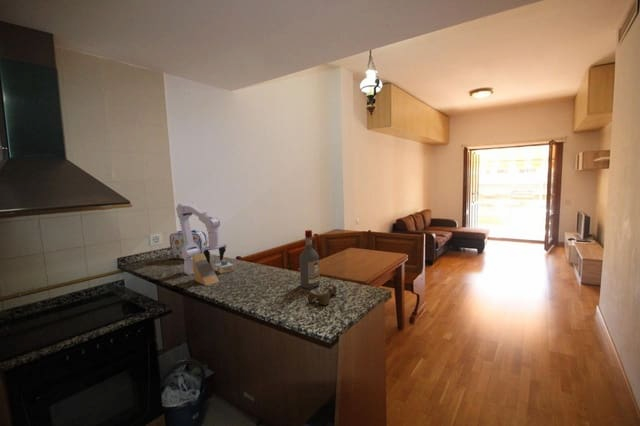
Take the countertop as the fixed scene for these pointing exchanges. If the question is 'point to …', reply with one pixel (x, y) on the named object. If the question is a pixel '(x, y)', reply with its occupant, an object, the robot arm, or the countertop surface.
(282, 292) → the countertop surface
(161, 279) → the countertop surface
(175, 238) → the lunch box
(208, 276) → the sandwich container
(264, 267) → the countertop surface
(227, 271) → the box
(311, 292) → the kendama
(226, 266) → the lid
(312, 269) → the liquor
